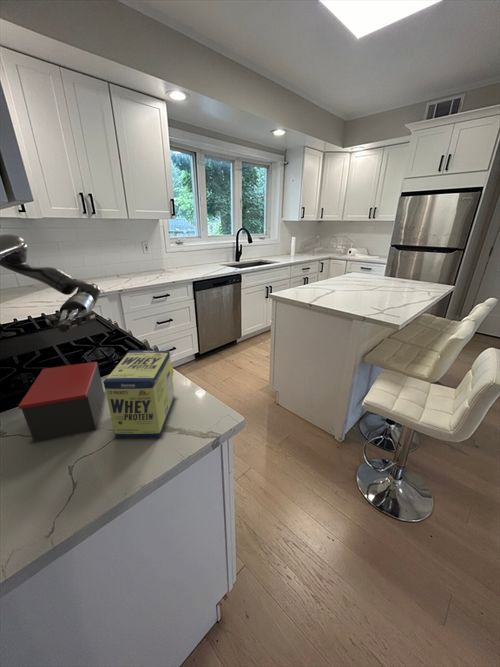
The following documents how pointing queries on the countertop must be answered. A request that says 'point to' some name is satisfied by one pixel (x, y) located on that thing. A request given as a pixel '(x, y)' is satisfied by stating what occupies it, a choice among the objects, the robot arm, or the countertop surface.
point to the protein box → (140, 394)
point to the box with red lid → (66, 414)
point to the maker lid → (60, 385)
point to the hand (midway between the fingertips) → (62, 328)
